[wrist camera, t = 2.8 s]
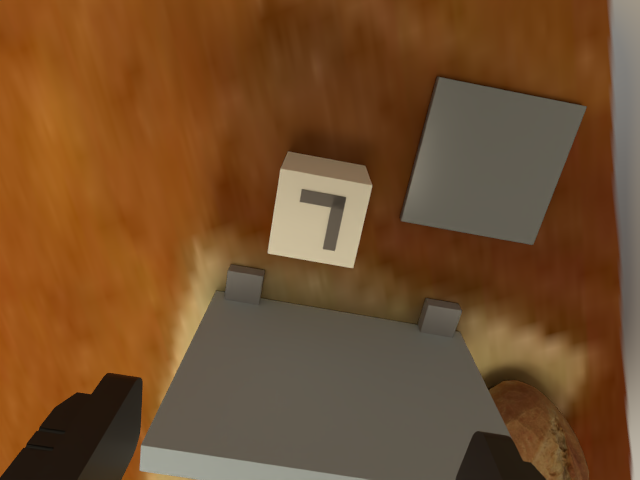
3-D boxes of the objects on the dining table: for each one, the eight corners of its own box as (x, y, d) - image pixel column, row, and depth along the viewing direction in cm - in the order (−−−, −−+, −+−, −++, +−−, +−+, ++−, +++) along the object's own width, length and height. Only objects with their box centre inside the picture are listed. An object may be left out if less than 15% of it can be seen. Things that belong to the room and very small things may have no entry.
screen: (469, 305, 32) (563, 469, 19) (445, 372, 35) (516, 560, 22) (219, 262, 32) (143, 404, 18) (211, 334, 34) (138, 506, 21)
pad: (581, 105, 27) (586, 106, 27) (529, 241, 31) (533, 244, 30) (436, 76, 27) (439, 77, 26) (399, 218, 30) (400, 221, 30)
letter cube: (365, 165, 29) (372, 186, 24) (349, 236, 31) (353, 268, 26) (288, 151, 29) (280, 169, 24) (276, 224, 31) (267, 254, 26)
